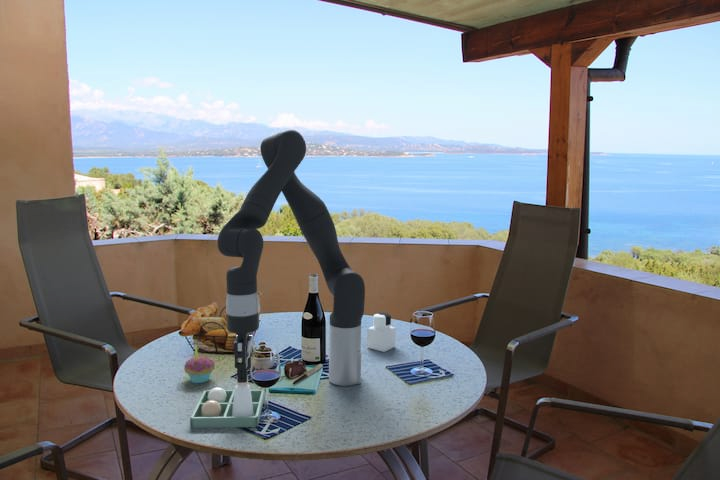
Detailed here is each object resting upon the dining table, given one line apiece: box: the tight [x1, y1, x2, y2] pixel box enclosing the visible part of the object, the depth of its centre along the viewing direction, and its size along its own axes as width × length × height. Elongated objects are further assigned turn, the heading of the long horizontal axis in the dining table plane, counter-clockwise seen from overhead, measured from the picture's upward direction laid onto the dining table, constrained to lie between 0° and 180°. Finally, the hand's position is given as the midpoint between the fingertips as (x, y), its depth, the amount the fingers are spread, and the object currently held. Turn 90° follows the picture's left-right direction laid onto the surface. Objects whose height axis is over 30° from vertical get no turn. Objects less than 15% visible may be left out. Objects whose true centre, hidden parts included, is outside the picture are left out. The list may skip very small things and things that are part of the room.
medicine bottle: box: [367, 312, 397, 353], centre depth 189 cm, size 7×7×12 cm
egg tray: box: [189, 389, 265, 429], centre depth 138 cm, size 16×16×3 cm
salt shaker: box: [232, 375, 254, 417], centre depth 134 cm, size 5×5×11 cm
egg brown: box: [201, 400, 221, 417], centre depth 134 cm, size 5×5×5 cm
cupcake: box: [183, 343, 216, 384], centre depth 157 cm, size 9×8×12 cm
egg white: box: [208, 386, 227, 403], centre depth 142 cm, size 5×5×5 cm
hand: (244, 375), depth 133 cm, fingers open, 8 cm apart
